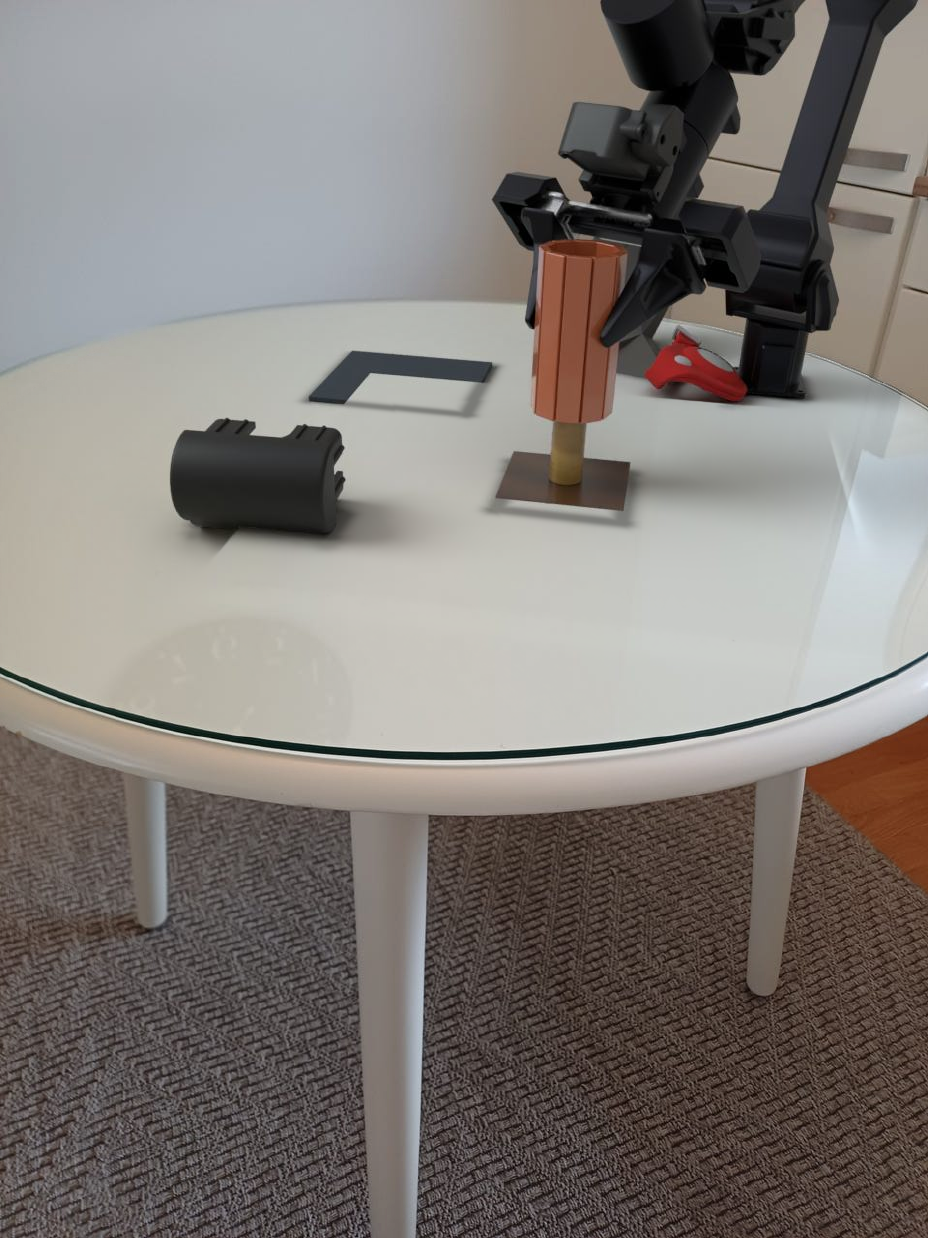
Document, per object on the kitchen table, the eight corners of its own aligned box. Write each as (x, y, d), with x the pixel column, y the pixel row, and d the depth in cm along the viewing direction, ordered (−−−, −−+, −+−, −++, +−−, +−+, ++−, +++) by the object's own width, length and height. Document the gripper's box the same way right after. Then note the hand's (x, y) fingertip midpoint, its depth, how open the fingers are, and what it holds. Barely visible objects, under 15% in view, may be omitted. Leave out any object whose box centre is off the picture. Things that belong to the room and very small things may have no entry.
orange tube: (535, 393, 79) (544, 236, 74) (614, 399, 78) (630, 242, 73) (524, 419, 75) (533, 254, 69) (609, 426, 74) (625, 260, 68)
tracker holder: (773, 389, 98) (705, 372, 92) (746, 429, 101) (677, 416, 94) (694, 320, 105) (625, 300, 99) (670, 359, 108) (600, 342, 101)
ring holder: (512, 462, 84) (516, 387, 81) (629, 473, 83) (637, 398, 80) (494, 510, 77) (497, 429, 74) (622, 523, 75) (631, 441, 72)
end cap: (175, 544, 71) (163, 446, 67) (213, 500, 77) (203, 408, 73) (324, 558, 70) (320, 459, 66) (351, 512, 76) (348, 419, 72)
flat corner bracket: (352, 354, 107) (352, 350, 107) (492, 366, 105) (492, 361, 105) (308, 400, 95) (308, 396, 95) (465, 414, 93) (465, 410, 93)
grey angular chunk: (730, 346, 113) (760, 161, 104) (672, 384, 102) (700, 180, 93) (607, 323, 119) (624, 145, 110) (539, 356, 108) (552, 161, 99)
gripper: (514, 42, 73) (404, 237, 71) (771, 60, 63) (650, 288, 61) (572, 157, 82) (476, 332, 80) (804, 189, 72) (700, 390, 70)
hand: (565, 334), depth 73 cm, fingers closed on orange tube, 6 cm apart
